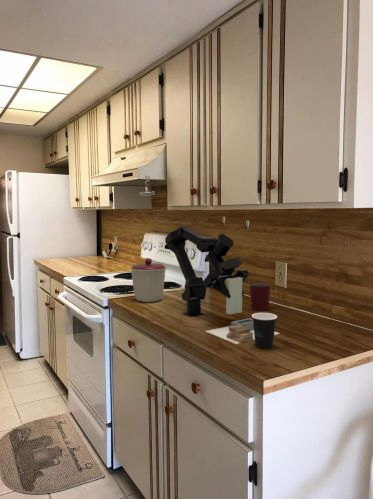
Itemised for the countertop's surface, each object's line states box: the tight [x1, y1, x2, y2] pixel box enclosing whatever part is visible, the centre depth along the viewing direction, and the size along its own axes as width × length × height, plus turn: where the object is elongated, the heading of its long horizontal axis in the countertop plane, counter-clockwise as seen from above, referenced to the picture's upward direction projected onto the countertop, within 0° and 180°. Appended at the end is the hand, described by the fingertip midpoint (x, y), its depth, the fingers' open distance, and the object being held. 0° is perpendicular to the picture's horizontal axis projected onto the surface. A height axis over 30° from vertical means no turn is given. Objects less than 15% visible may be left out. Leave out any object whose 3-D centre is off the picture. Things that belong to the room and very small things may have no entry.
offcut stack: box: [227, 325, 254, 344], centre depth 136 cm, size 7×6×4 cm
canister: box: [129, 257, 167, 303], centre depth 201 cm, size 18×18×21 cm
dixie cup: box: [251, 312, 278, 350], centre depth 129 cm, size 8×8×11 cm
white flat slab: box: [205, 317, 280, 345], centre depth 144 cm, size 17×20×4 cm
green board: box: [225, 277, 243, 315], centre depth 151 cm, size 2×6×13 cm, turn 123°
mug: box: [249, 282, 271, 312], centre depth 184 cm, size 12×9×11 cm
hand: (236, 296), depth 150 cm, fingers closed on green board, 6 cm apart
